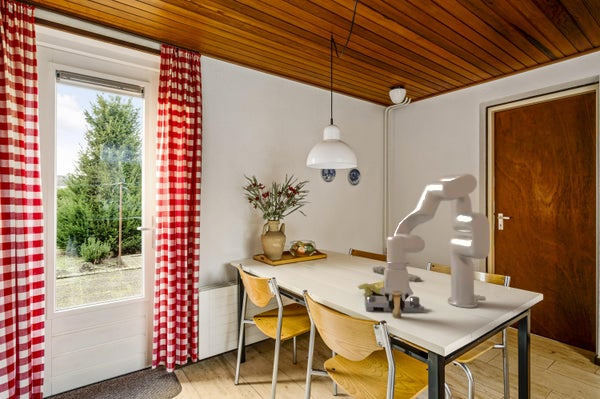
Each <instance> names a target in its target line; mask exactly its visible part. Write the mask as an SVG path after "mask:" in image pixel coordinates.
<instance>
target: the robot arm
mask: <svg viewBox="0 0 600 399" xmlns="http://www.w3.org/2000/svg"><path fill="white" fill-rule="evenodd" d="M477 186H478V180H477V178H476V177H475V176H474V175H473V174H470V173H460V174H447V175H443V176H440V177H439V179H438V180H434V181H430V182H428V183H427V184H426V185H424V187H423V190H422V192H421V194H420V197H419V199H418V200H417V203H416V205H415V207H414V209H413V210H412V211H411V212H409V214H408V215H406V217H404V218H403V219H402V220H401V221H400V222H399V224H398V225H397V228H396V230H395V232H394V235H389V236H387V237H386V267H387V268H386V267H385V270H384V275H383V280H382V281H383V287H382V289H381V290H380V293H381V294H382V295H381V294H380V295H381V296H385V297H386V298H387V299H388V300H389V308H390V309H391V311H393V301H392V294H391V293H393V292H402V293H403V295H401V310H402V311H403V308H405V301H407V299H408V298H410V297H411V296H413V295H414V292H413V290H412V288H411V287H410V281H409V276H408V274H409V271H408V269H407V267H410V263H409V262H407V260H406V254H407V253H408V254H419V253H421V252H422V251H423V250H424V249H425V247H426V243H425V240H424V239H423V237H421V236H420V235H418V234H417V235H416V234H411V233H412V231H414V229H416V227H418V226H420V225H423V224H425V223H427V222H430V221H431V220H433V219H434V218H435V216H436V213H437V211H438V208H439V206H440V204H441V202H442V201H444V202H445V201H449V202H450V210H451V211H450V214H451V216H450V219H451V220H450V221H451V228H452V229H453V231H455V232H457V233H458V232H459V233H463V234H471V235H463V234H455V235H453V236H451V237H450V238H449V240H448V243H447V244H448V246H447V247H448V251H449V257H450V294H451V295H450V297H448V298H447V302H448V304H450V305H452V306H454V307H459V308H465V309H466V308H467V309H468V308H469V309H471V308H476V307H478V306H479V301H484V302H485V301H486V299H487V298H486V296H485V295H483V296H482V295H480V294H477V295H476V294H475V268H474V267H475V266H474V262H473V260H472V259H474V260H475V259H476V260H484V259H486V258H487V257H488V256H489V254H490V252H491V251H490V249H491V248H490V247H491V241H490V240H491V238H490V237H491V236H490V235H491V233H490V231H491V229H490V228H491V227H490V222H489V218H488V217H487V216H486V215H485V214H484V213H481V212H476V211H475V212H473V208H472V207H473V205H472V199H471V197H470V196H469V195H470V194H472V193H473V192H474V191H475V190H476V188H477ZM384 291H385V292H386V293H385V292H384ZM387 293H388V294H387Z"/></svg>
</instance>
